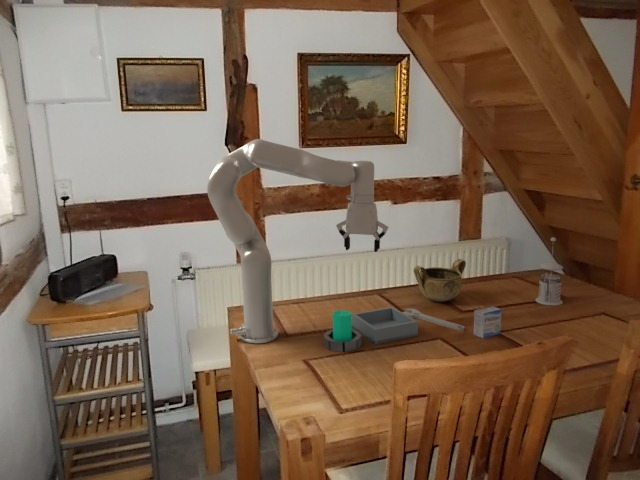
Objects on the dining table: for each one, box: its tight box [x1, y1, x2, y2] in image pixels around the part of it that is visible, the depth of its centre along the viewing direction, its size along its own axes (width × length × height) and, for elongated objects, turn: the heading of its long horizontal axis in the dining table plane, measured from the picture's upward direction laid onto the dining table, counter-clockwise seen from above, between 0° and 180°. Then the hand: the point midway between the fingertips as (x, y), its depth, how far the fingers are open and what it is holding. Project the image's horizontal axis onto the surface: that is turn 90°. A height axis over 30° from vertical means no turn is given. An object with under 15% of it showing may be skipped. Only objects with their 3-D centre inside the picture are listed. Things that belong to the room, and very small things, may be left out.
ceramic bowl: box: [413, 258, 467, 303], centre depth 218 cm, size 22×17×15 cm
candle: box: [332, 309, 353, 341], centre depth 178 cm, size 6×6×12 cm
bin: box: [351, 306, 419, 345], centre depth 188 cm, size 16×16×5 cm
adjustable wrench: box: [402, 308, 465, 332], centre depth 197 cm, size 25×6×2 cm, turn 40°
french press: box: [534, 237, 564, 306], centre depth 212 cm, size 10×12×25 cm
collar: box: [322, 328, 363, 353], centre depth 179 cm, size 12×12×3 cm
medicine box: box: [473, 305, 502, 340], centre depth 184 cm, size 8×4×9 cm, turn 117°
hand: (361, 250), depth 187 cm, fingers open, 9 cm apart
